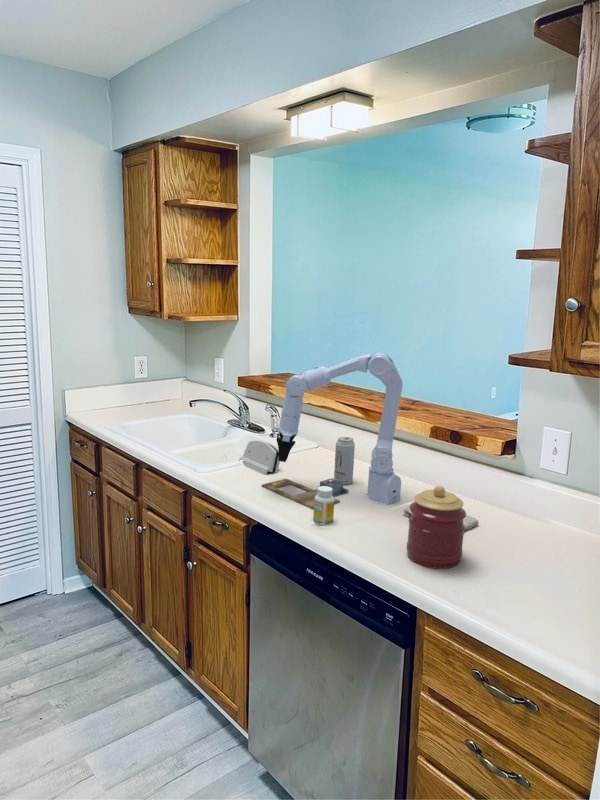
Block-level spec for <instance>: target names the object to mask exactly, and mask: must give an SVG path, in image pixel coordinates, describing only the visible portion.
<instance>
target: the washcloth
mask: <svg viewBox="0 0 600 800" xmlns="http://www.w3.org/2000/svg"><path fill="white" fill-rule="evenodd" d="M411 514H412V512H411V510H410V507H408V508H405V509H404V512H403V516H405V517H407V518H408V519H409V518H410V517H411ZM479 523H480V522H479V520H478V518H476V517H473V516H471V515H468V514H466V517H465V518H464V519H463V524H464V526H465V529H464V532H466V531H468V530H467V529H469V530H471V529H473V528H475V527H477V526H478V525H479ZM476 525H477V526H476ZM474 526H475V527H474ZM472 527H473V528H472ZM470 528H471V529H470ZM465 530H466V531H465Z"/></svg>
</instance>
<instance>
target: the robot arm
mask: <svg viewBox="0 0 600 800" xmlns="http://www.w3.org/2000/svg"><path fill="white" fill-rule="evenodd" d="M356 371H358V372H362V373H366V374H367V372H368V371H369V373H370V374H371V375H372V376H373V377H375V378H377V379H379V380H380V382H381V383H383V385H384V387H385V393H384V400H383V406H382V411H381V417H380V423H379V429H378V434H377V439H376V445H375V446H374V448H373V450H372V452H371V460H370V466H369V467H368V479H367V481H368V483H367V485H368V486H367V493H366V494H363V495H361V497H362V498H365V499H367V500H370V501H372V502H375V503H377V504H380V505H383V506H388V505H391V504H394V503H397V502H400V501H402V499H401V490H402V489H401V487H402V480H401V477H400V476H398V475H397V474H396V473H395V471H394V468H393V466H394V462H393V443H394V442H393V441H394V436H395V431H396V425H397V418H398V415H399V413H398V412H399V409H400V403H401V397H402V396H401V395H402V391H403V386H404V385H403V379H402V377H401V375H400V372H399V370H398V368H397V367H396V363H395V361H394V360H393V359H392V358H391V357H390V356H389V354H387V353H386V352H384V351H380V350H379V351H375V352H373V353H367V354H363V355H359V356H356V357H354V358H351V359H349V360H346V361H344V362H341V363H338V364H336V365H334V366H331V367H325V366H324V365H322V366H319V365H316V366H315V365H314V367H313V368H312V369H310V370H307V371H304V372H303V371H300V372H298V374H295V375H292V376H291V377H290V378H289V379H288V380H286V383H285V395H284V399H283V404H282V409H281V414H280V420H279V425H275V426H274V429H275V430H277V431H278V433H279V437H278V436H277V437H276V443H277V449H278V450H279V454H278V458H279V461H280V462H283V463H286V462H287V460H288V457H289V456H290V455H289V454H290V452H291V450H292V448H293V446H294V445H296V441H295V440H294V439H295V438H296V437H297V435H298V433H299V425H300V419H301V415H302V408H303V404H304V396H305V392H306V391H307V392H311V391H314V390H316V389H319V388H322V387H324V386H327V385H330V383H331V380H332V379H334V378H337V377H340V376H344V375H347V374H350V373H353V372H356Z"/></svg>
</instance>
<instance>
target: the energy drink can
mask: <svg viewBox="0 0 600 800" xmlns="http://www.w3.org/2000/svg"><path fill="white" fill-rule="evenodd" d="M355 447H356V444H355V442H354V439H353V437H349V436H340V437H338V438H337V441H336V442H335V454H334V456H335V457H334V472H333V473H334V474H333V475H334V476H333V479H334V480H337V481H340V482H342V483H343V486H347V485H351V484H352V483H353V481H354V480H353V479H354V467H355V466H354V465H355V464H354V463H355V449H356V448H355Z"/></svg>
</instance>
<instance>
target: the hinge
mask: <svg viewBox="0 0 600 800" xmlns="http://www.w3.org/2000/svg"><path fill="white" fill-rule="evenodd" d="M278 454H279V450H278V447H275V445H273V444H271V443H268V442H266V441H263V440H261V441H260V440H249V442H248V443H247V445H246V448H245V450H244V452H243V455H242V456H241V457H239V460H238V462H239V461H240V460H244V461H242V462H243V464H244V465H245V466H244V465H243V466H244V467H246V468H248V469H250V470H253V471H255V472H257V473H260V475H263V476H267V474H268V472H270V473H275V474H278V473H279V472H278V471H279V468H280V462H281V461H279V458H278Z"/></svg>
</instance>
